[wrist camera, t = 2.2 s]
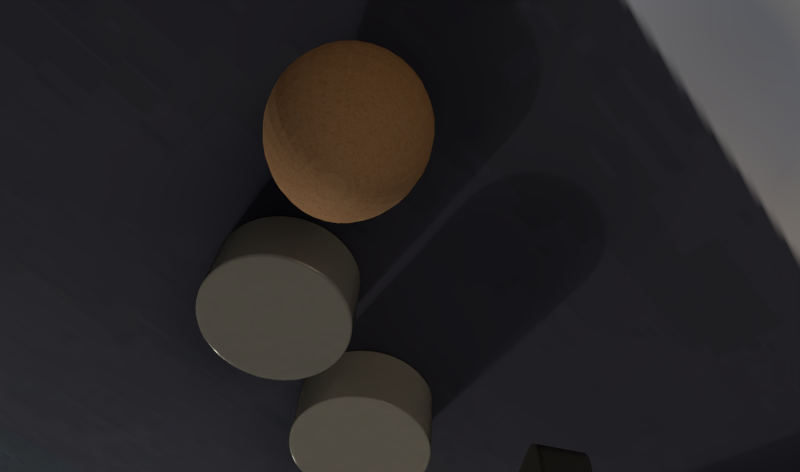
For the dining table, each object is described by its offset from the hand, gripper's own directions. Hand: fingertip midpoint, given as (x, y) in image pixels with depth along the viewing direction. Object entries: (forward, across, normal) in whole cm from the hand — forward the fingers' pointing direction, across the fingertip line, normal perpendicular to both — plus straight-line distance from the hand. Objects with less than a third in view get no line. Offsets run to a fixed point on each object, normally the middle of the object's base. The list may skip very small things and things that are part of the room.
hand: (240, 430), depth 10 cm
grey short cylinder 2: (+13, -2, +12) cm, 18 cm away
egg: (+14, 0, 0) cm, 14 cm away
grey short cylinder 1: (+13, +1, +7) cm, 15 cm away
